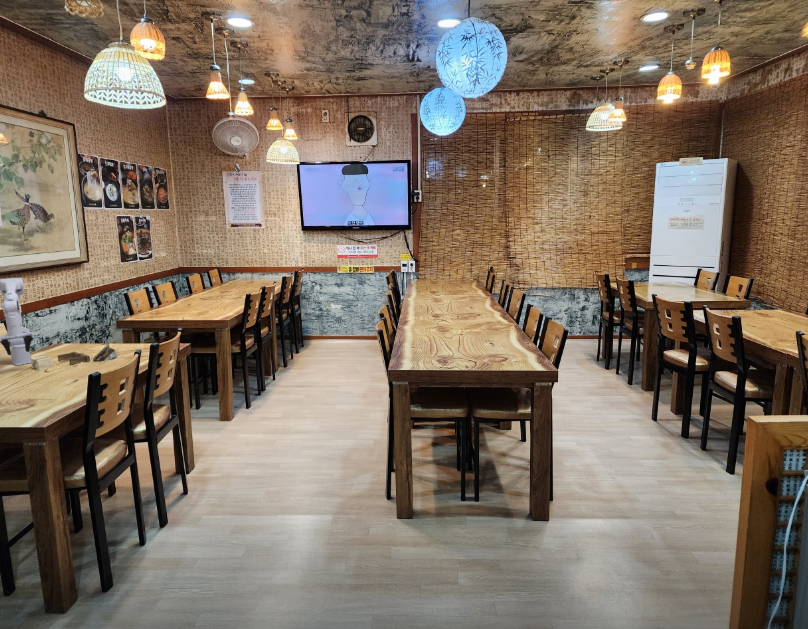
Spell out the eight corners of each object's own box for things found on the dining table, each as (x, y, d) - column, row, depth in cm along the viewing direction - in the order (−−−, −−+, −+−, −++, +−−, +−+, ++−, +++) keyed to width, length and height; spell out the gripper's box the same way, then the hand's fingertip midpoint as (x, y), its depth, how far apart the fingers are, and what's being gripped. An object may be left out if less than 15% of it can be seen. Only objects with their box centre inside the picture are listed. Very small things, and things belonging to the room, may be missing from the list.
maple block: (32, 368, 258) (30, 358, 257) (45, 365, 263) (44, 355, 262) (39, 370, 254) (37, 360, 253) (52, 367, 259) (51, 357, 258)
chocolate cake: (103, 364, 265) (117, 344, 271) (91, 359, 266) (105, 340, 272) (111, 372, 273) (124, 352, 279) (99, 367, 274) (113, 348, 280)
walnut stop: (57, 360, 272) (56, 354, 271) (74, 356, 278) (74, 351, 278) (72, 365, 261) (71, 359, 261) (90, 361, 268) (89, 355, 268)
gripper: (-1, 329, 239) (3, 357, 241) (35, 323, 251) (39, 351, 253) (-7, 327, 243) (-2, 355, 246) (29, 322, 255) (33, 349, 257)
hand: (18, 353), depth 250 cm, fingers open, 7 cm apart
